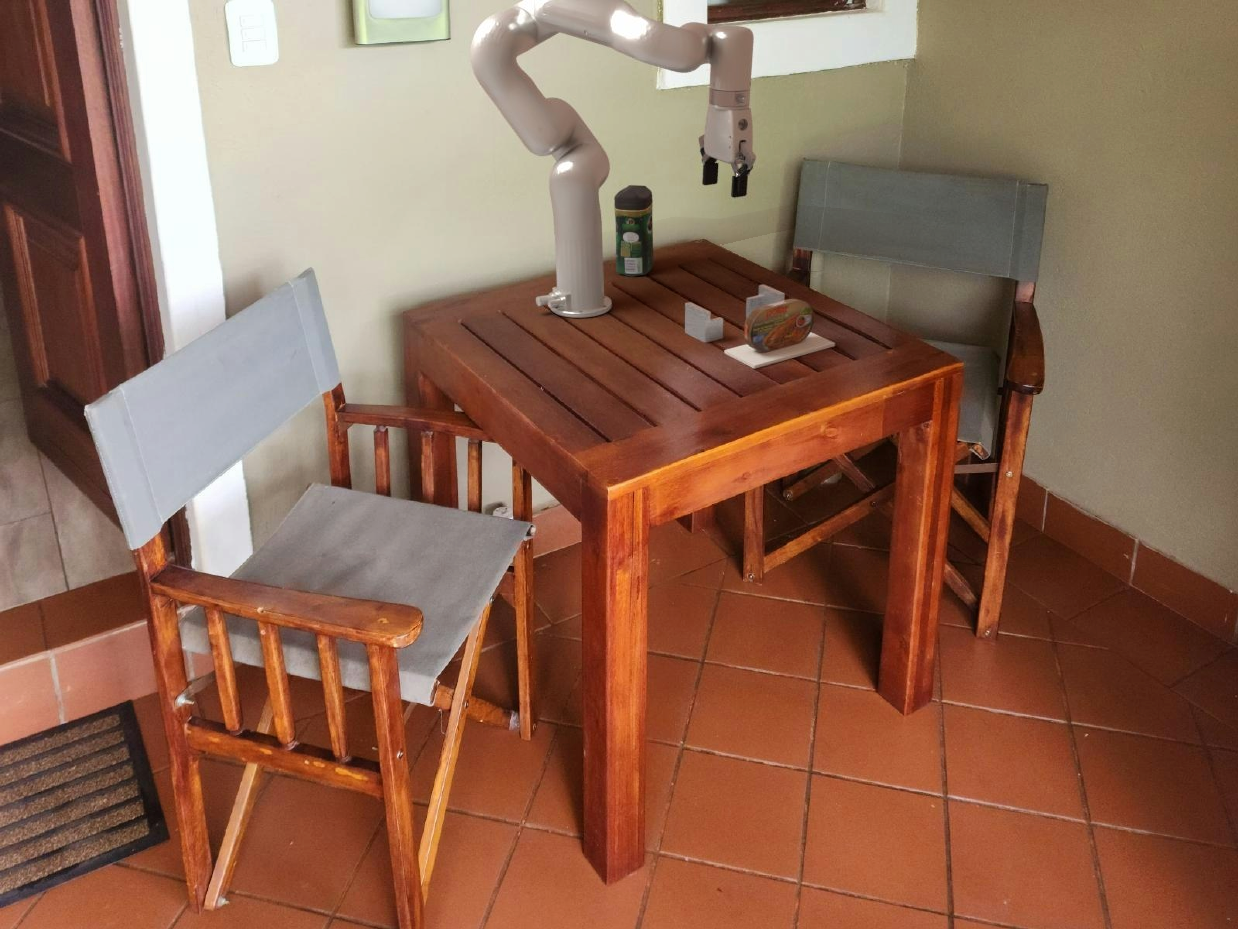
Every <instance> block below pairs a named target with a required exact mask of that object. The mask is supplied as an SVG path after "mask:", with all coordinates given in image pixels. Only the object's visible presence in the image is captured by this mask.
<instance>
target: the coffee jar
mask: <svg viewBox="0 0 1238 929" xmlns="http://www.w3.org/2000/svg"><path fill="white" fill-rule="evenodd" d="M613 199H614V204H613V205H614V207H613V208H614V222H615V260H616V261H615V270H616V273H617V274H618V275H619V274H620V275H623V276H626V277H636V276H644V275H647V274H649V273H650V271H651V270H652V269H653V268H654V264H655V263H654V262H655V260H654V259H655V258H654V236H653V234H654V232H653V230H654V228H653V203H654V202H653V201H654V200H653V192H652V190H651V189H650V188H649V187H647V186H646V185H637V184H636V185H635V184H633V185H632V184H630V185H628V186H626V187H624V188H622V189H620V190H619V191H618V192H617V193H616V194H615V196H614V198H613Z"/></svg>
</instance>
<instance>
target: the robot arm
mask: <svg viewBox="0 0 1238 929" xmlns="http://www.w3.org/2000/svg"><path fill="white" fill-rule="evenodd" d="M557 34H564V35H568V36H572V37H574V38H578V39H581V40H584V41H587V42H592V43H595V44H598V45H601V46H604V47H607V48H610V49H612V50H615V52H618V53H619V54H622V55H625V56H628V57H629V58H632V59H635V60H636V61H639V62H642V63H644V64H648V65H650V66H654V67H656V68H660V69H663V70H668V71H671V72H675V73H679V74H680V73H681V74H685V73H686V74H689V73H692V72H694V71H696V70H697V69H699V68H700V67H701V66H702V65H705V64H706V65H708V64H709V66H710V68H709V70H710V72H709V88H708V89H709V90H708V106H707V107H708V108H707V110H706V118H705V125H704V134H702V135H700V136H699V137H698V143H699V149H700V150H699V152H700V155H701V163H702V164H703V166H702V181H701V183H702V185H703V186H711V185H712V186H713V185H717V184H718V180H719V162H722V163H726V164H727V165H731V167H732V171H733V174H734V175H732V176H731V188H730V189H731V191H730V196H731V197H732V198H740V197H741V198H742V197H746V196H747V194H748V182H749V181H748V178H749V176H750V174H751V172H752V170H753V169H754V168H753V167H754V164H755V162H756V159H757V155H756V154H755V152H754V151H753V144H754V140H753V137H754V132H753V130H754V129H753V116H752V115H753V114H752V109H751V108H750V100H751V89H752V88H751V86H752V68H753V55H754V39H755V38H754V37H755V36H754V32H753V30H751V28H749V27H746V26H739V25H723V26H718V25H712V24H706V23H702V22H697V21H693V22H691V21H690V22H687V23H684V24H681V25H680V26H679V27H678V26H675V25H671V24H669V23H666V22H665V23H664V22H661V21H658V20H656V19H653V18H650V17H647V16H646V15H644V14H641V13H639V12H638V11H637V10H636V9H634V7H633V6H632V5H631V4H630V3H629V2H627V1H625V0H521V1H519V2H517V3H516V4H514V5H512V6H510V7H508V8H506V9H504V10H500V11H498V12H496V13H493V14H491V15H490V16H488V17H486V18H485V19H484V21H482V22H481V23H480V24H479V26H478V28H476V31H475V32H474V36H473V38H472V41H471V46H470V51H469V52H470V53H469V55H470V63H471V64H470V65H471V67H472V71H473V75H474V76H475V78H476V80H477V82H478V83H479V86H480V87H481V88H482V89H483V91H484V93H486V94H487V97H489V99H490V100H491V101H492V103H493V104H494V105H495V106H496V108H497V109H498V111H499V112H500V114H501V115H502V117H503V118H504V119H505V121H506V122H507V123H508V125H509V126H510V127H511V129H512V130H513V132H514V133H515V134H516V136H517V137H518V138H519V140H520V142H521V143H522V144H523V145H524V147H525V148H526V149H527V150H528V151H529V152H530V153H532V154H533V155H535V156H538V157H548V156H552V157H553V158H554V160H555V161H556V162H555V163H554V165H553V166H552V168H551V171H550V175H549V180H548V182H549V183H548V184H549V185H548V189H549V194H550V196H549V197H550V201H551V206H552V218H553V232H554V247H555V248H554V249H555V251H554V252H555V268H556V269H555V270H556V271H555V272H556V286H554V287H552V291H551V292H549V294H547V295H546V294H545V295H540V296H539V295H538V296H536V297H535V302H536V303H535V304H536V305H537V307H541V306H546V305H548V307H549V308H550V310H551V311H552V313H555V314H556V315H558V316H561V317H565V318H566V317H567V318H577V319H579V318H580V319H581V318H583V319H584V318H592V317H596V316H600V315H603V314H605V313H608V312H609V311H610V310H611V309H612V306H613V303H612V299H611V298H610V297H608V296H607V295H605V294H604V293H605V292H604V291H605V288H604V285H605V284H604V257H603V256H604V255H603V254H604V253H603V252H604V251H603V224H602V222H603V221H602V212H601V211H602V210H601V204H600V196H599V195H600V194H599V192H600V188H601V187H602V186H603V185H604V184H605V182H606V181H607V179H608V178H609V175H610V170H611V168H610V167H611V164H610V159H609V155H607V152H606V151H605V149H604V148H603V146H602V145H601V143H600V142H599V139H597V138H596V137H595V135H594V134H593V132H592V131H591V129H590V128H589V127H588V125H587V124H586V122H585V121H584V120H583V118H582V117H581V116H580V114H579V113H578V111H577V110H576V109H575V108H574V107H573V106H572V105H571V104H569V103H568V102H567V101H566V100H563V99H561V98H558V97H545V96H544V94H543V93H542V92H541V90H540V89H539V87H538V86H537V85H536V83H535V82H534V80H533V79H532V78H531V77H530V76H529V74H528V73H526V71H525V70H523V69H522V67H521V66H520V65H519V64H518V61H517V60H518V59H517V58H518V57H519V56H521V55H523V54H524V53H527V52H528V51H530V50H532V49H534V48H535V47H536V46H538V45H540V44H541V43H544V42H545V41H547V40H549V39H551V38H553V37H554V36H555V35H557ZM717 161H719V162H717ZM739 165H741V166H740V167H739Z"/></svg>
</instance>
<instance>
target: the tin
mask: <svg viewBox="0 0 1238 929" xmlns="http://www.w3.org/2000/svg"><path fill="white" fill-rule="evenodd" d="M814 323H815V313H814V310H813V307H812V305H811V304H810V303H809V302H808V301H805V300H801V299H798V298H788V299H784V301H780V302H777V303H773V304H769V305H765V306H761V307H758V308H756V309H754V310H753V311H752V312H751V313H750V314H749V315H748V317H746V319H745V321H744V324H743V336H744V337H743V338H744V341H745V343H746V344H748V345H749V346H750V347H751V348H753V349H755V350H757V351H759V352H762V353H767V352H771V351H774V350H777V349H780V348H784V347H787V346H791V345H795V344H798V343H800V342H802V341H803V340H805V339H806V338H807V336H808V335H809V334H810V332H812V330H813V328H814Z"/></svg>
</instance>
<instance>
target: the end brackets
mask: <svg viewBox="0 0 1238 929" xmlns="http://www.w3.org/2000/svg"><path fill="white" fill-rule="evenodd" d="M784 300H785V292H782V291H780V290H777V289H775V288H773V287H771V286H768V285H766V284H760V285H758V295H757V294H756V295H754V296H749V297H746V302H745V318H747V317H748V315H749V314H750V313H751V312H752V311H753V310H754V309H756V308H758V307H761V306H765V305H769V304H773V303H777V302H780V301H784ZM684 319H685V320H684V333H685V334H687V335H689V336H690V337H693V338H695V339H696V340H699V341H701V342H702V343H704V344H707V343H709V342H710V343H711V342H714V341H717V340H721V339H723V338H724V336H723V334H724V318H722V317H720V316H719V317H716V318H711V311H710V310H707V309H706V308H703V307H702V306H699V305H697V304H695V303H693V302H692V301H691V302H685V303H684Z"/></svg>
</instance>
